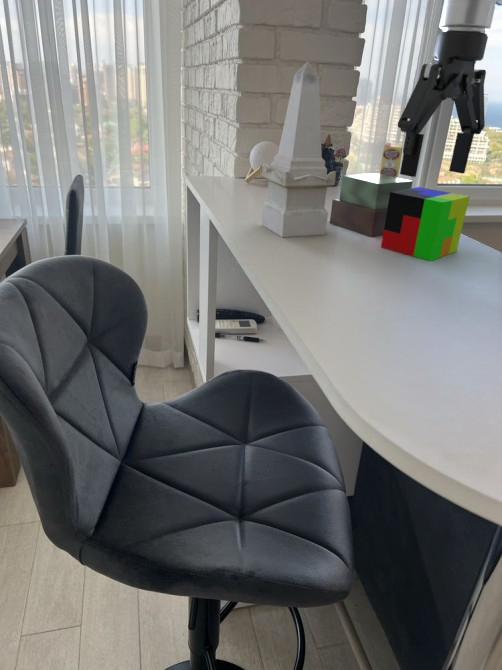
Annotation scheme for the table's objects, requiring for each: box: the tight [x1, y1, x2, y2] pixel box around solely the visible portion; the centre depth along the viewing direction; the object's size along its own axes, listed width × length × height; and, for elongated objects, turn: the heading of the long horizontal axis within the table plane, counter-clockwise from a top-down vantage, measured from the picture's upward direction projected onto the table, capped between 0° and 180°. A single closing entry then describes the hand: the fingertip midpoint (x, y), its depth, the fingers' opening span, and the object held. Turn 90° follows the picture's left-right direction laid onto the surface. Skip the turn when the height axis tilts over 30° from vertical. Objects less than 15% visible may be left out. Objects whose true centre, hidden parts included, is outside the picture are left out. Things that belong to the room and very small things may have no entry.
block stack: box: [329, 172, 413, 238], centre depth 105 cm, size 12×12×10 cm
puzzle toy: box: [380, 186, 471, 262], centre depth 91 cm, size 10×10×10 cm
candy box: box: [379, 142, 403, 178], centre depth 117 cm, size 9×4×15 cm, turn 165°
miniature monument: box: [261, 60, 337, 238], centre depth 95 cm, size 10×10×30 cm
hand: (433, 174), depth 88 cm, fingers open, 13 cm apart
